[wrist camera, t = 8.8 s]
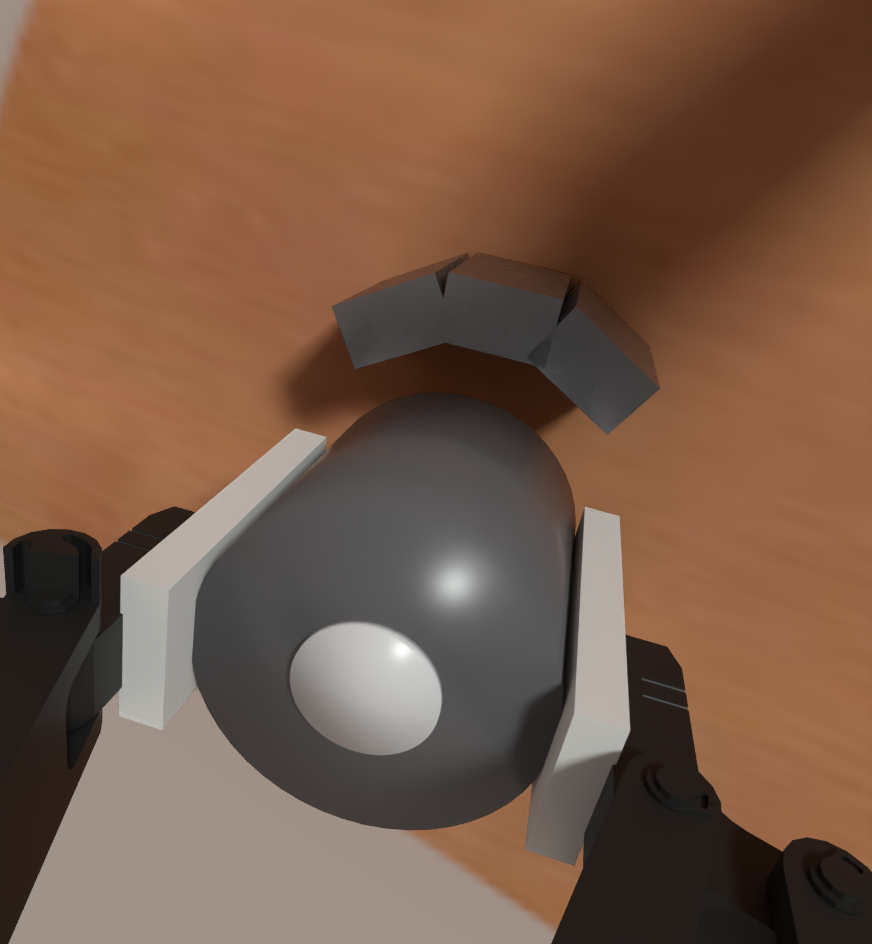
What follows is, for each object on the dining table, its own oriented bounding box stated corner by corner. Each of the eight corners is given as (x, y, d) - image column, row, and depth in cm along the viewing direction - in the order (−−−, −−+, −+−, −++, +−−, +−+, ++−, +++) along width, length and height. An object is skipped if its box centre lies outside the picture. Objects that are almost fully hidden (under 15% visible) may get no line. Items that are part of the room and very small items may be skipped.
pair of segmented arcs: (389, 232, 19) (339, 246, 16) (665, 296, 18) (680, 328, 15) (337, 560, 24) (288, 630, 20) (557, 624, 23) (548, 711, 19)
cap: (338, 362, 16) (192, 468, 10) (609, 432, 15) (615, 585, 9) (306, 588, 18) (176, 773, 13) (537, 656, 17) (508, 884, 12)
